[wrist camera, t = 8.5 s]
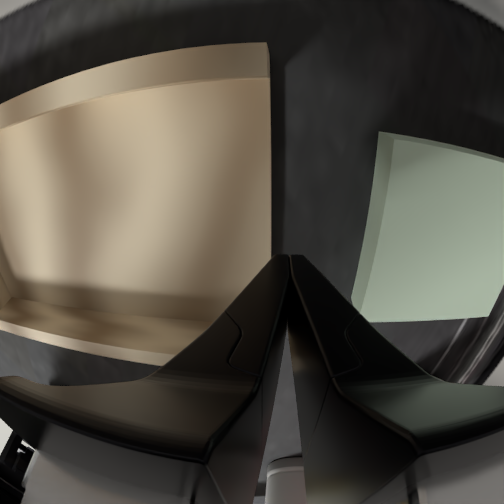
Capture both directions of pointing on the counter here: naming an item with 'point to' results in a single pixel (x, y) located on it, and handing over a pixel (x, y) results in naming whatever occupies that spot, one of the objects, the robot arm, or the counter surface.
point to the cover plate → (431, 233)
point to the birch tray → (135, 200)
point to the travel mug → (286, 482)
